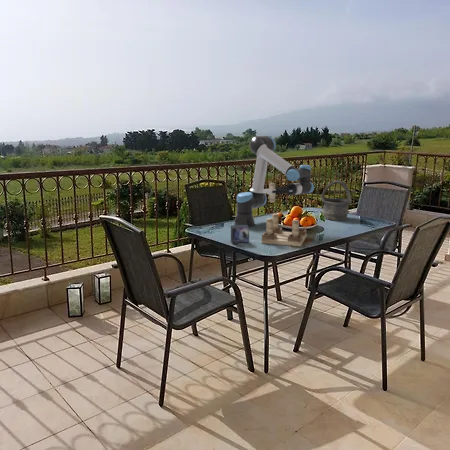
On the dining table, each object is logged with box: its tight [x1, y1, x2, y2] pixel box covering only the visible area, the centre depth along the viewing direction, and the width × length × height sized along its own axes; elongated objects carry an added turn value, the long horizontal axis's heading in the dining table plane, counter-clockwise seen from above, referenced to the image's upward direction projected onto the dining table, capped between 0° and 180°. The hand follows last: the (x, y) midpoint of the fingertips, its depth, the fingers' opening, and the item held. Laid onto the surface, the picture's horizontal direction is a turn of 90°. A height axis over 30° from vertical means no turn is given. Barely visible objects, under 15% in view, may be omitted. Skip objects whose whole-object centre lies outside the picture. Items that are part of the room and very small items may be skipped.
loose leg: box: [268, 182, 276, 203], centre depth 261 cm, size 4×4×12 cm
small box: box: [230, 225, 250, 245], centre depth 247 cm, size 11×6×10 cm, turn 101°
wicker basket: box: [320, 180, 352, 221], centre depth 316 cm, size 22×23×30 cm
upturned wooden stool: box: [261, 213, 308, 247], centre depth 252 cm, size 24×24×14 cm
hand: (265, 191), depth 259 cm, fingers closed on loose leg, 4 cm apart
